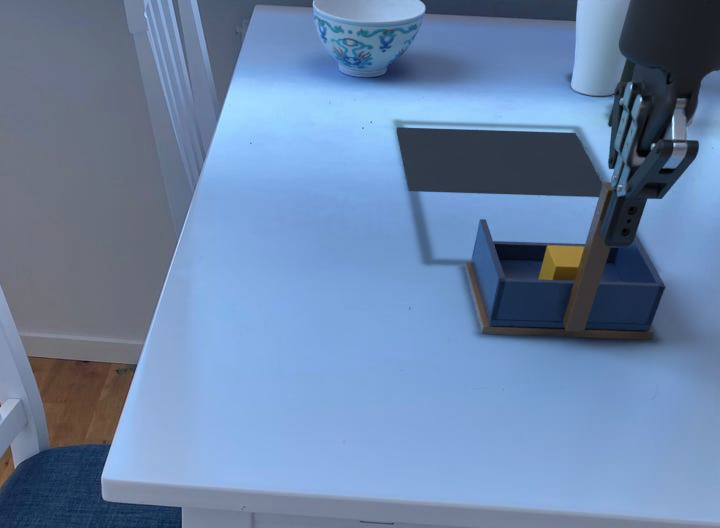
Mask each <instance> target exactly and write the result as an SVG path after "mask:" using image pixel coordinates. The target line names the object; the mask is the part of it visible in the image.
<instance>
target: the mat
mask: <svg viewBox="0 0 720 528" xmlns="http://www.w3.org/2000/svg"><path fill="white" fill-rule="evenodd" d="M396 134H397V140H398V144H399V149H400V154H401V158H402V164H403V168H404V173H405V177H406V182H407V188H408V192H416V193H417V192H421V193H422V192H423V193H452V194H481V195H482V194H484V195H485V194H486V195H489V194H490V195H515V196H516V195H519V196H547V197H549V196H550V197H576V198H577V197H578V198H579V197H580V198H581V197H582V198H599V196H600V192H601V189H602V185H603V182H602V180H601V178H600V176H599V174H598V172H597V171H596V170H597V169H596V168H595V167H594V165H593V163H592V161H591V159H590V157H589V155H588V154H587V152H586V150H585V149H584V146H583V145H582V142H581V140H580V139H579V136H578V135H577V133H576V132H561V131H558V132H557V131H532V130H531V131H529V130H500V129H499V130H497V129H468V128H467V129H466V128H465V129H464V128H436V127H435V128H431V127H403V126H397V127H396Z"/></svg>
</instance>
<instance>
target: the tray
mask: <svg viewBox="0 0 720 528" xmlns="http://www.w3.org/2000/svg"><path fill="white" fill-rule="evenodd" d="M602 184H603V185H602V189H601V192H600V196H599V197H598V200H597V203H596V206H595V210H594V213H593V217H592V219H591V222H590V226H589V230H588V234H587V237H586V239H585V243H570V242H568V243H566V242H539V241H538V242H535V241H508V240H507V241H506V240H505V241H503V240H493V237H492V234H491V231H490V228H489V225H488V221H487V219H485V218H483V219H482V218H481V219H479V222H478V225H477V229H476V235H475V239H474V246H473V250H472V256H471V260H470V262H471V263H472V266H473V270H474V273H475V277H476V280H477V284H478V287H479V291H480V294H481V298H482V301H483V305H484V308H485V312H486V315H487V319H488V322H489V325H490V326H520V327H550V328H565V330H566V331H582V332H583V331H584V330H585V329H612V330H643V331H649V330H650V327H652V325H653V322H654V319H655V316H656V314H657V311H658V309H659V305H660V304H661V300H662V298H663V295H664V292H665V290H666V284H665V283H664V281H663V279H662V277H661V276H660V274H659V272H658V270H657V268H656V267H655V265H654V263H653V262H652V260H651V258H650V255H649V254H648V253H647V251H646V248H644V246H643V244H642V242H641V240H640V239H639V236H638V235H637V234H636V235H635V238H634V241H633V243H632V244H631V245H630V246H627V247H614V246H606V245H605V243H604V241H603V239H602V237H601V235H600V231H601V228H602V225H603V222H604V218H605V215H606V212H607V208H608V205H609V202H610V199H611V195H612V192H613V189H615V188H616V187H612V185H611V181H610V182H608V181H604V182H602ZM547 245H556V246H584V250H583V253H582V257H581V260H580V263H579V267H578V270H577V274H576V277H575V280H574V281H573V280H541V279H538V278H539V275H540V271H541V267H542V263H543V260H544V256H545V252H546V248H547Z"/></svg>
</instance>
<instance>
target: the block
mask: <svg viewBox="0 0 720 528" xmlns="http://www.w3.org/2000/svg"><path fill="white" fill-rule="evenodd" d="M583 250H584V246H556V245H547V248H546V252H545V256H544V260H543V263H542V267H541V271H540V275H539V278H538V279H541V280H573V281H574V280H575V277H576V274H577V270H578V267H579V263H580V260H581V257H582V253H583Z"/></svg>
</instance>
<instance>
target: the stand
mask: <svg viewBox="0 0 720 528" xmlns="http://www.w3.org/2000/svg"><path fill="white" fill-rule="evenodd" d="M464 273H465V276H466V281H467V285H468V288H469V292H470V296H471V299H472V303H473V307H474V311H475V314H476V318H477V322H478V325H479V330H480V333H481V335H504V336H505V335H507V336H508V335H509V336H535V337H536V336H541V337H565V338H566V337H568V338H569V337H570V338H571V337H572V338H597V339H599V338H600V339H627V340H628V339H629V340H631V339H633V340H652V339H653V337H654V334H655V331H654V329H653V327H652V326H651V327H650V330H649V331H643V330H612V329H585V330H584V331H583V332H582V331H566V330H565V328H550V327H520V326H490V325H489V322H488V319H487V315H486V312H485V308H484V305H483V301H482V298H481V294H480V291H479V287H478V284H477V280H476V277H475V273H474V270H473V266H472V263H471V261H465V263H464Z"/></svg>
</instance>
